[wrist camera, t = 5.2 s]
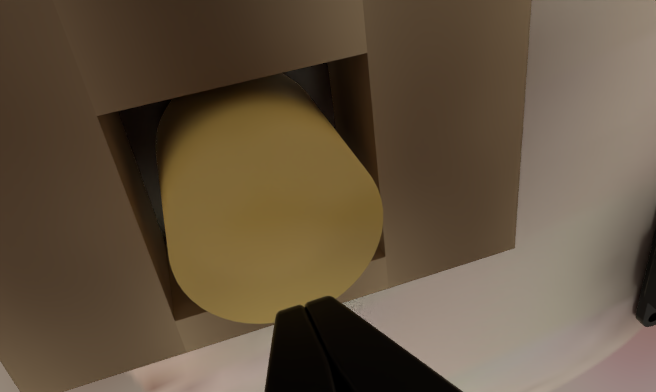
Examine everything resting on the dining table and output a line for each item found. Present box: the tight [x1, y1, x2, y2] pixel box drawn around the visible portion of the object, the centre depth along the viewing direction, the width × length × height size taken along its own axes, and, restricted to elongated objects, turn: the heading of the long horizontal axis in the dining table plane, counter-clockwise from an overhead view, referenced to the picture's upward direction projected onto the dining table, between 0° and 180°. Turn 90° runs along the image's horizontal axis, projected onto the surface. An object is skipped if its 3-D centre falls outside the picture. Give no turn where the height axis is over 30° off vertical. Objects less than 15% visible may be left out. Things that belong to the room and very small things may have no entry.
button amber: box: [155, 73, 383, 324], centre depth 12 cm, size 4×4×4 cm
